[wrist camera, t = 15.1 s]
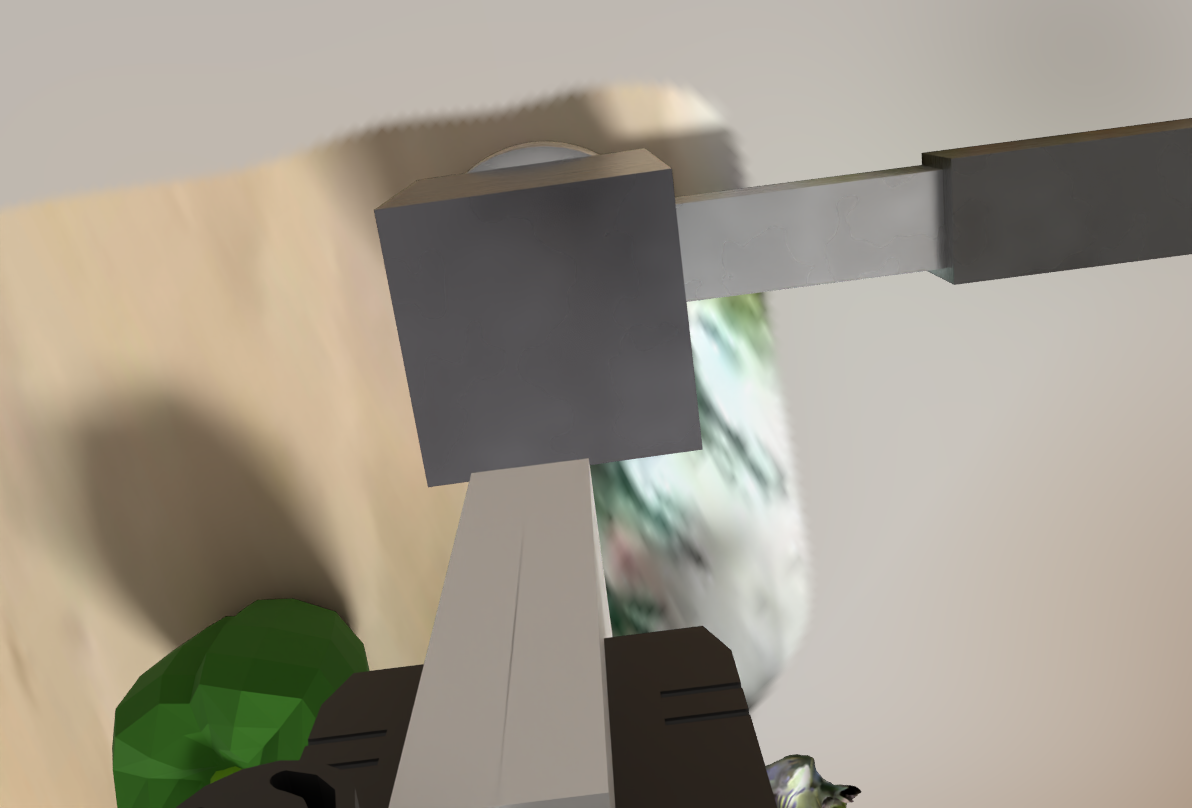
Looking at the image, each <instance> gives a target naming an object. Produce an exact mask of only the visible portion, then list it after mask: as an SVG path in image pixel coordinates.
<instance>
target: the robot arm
mask: <svg viewBox="0 0 1192 808" xmlns="http://www.w3.org/2000/svg"><path fill="white" fill-rule="evenodd" d="M176 808H777V805H776V801H775V798H774V794H773V791H772V788H771V784H770V781H769V777H768V774H767V771H766V767H765V764H764V761H763V757H762V754H761V750H760V747H759V743H758V740H757V736H756V733H755V730H754V726H753V723H752V719H751V716H750V715H749V710H748V706H747V702H746V699H745V696H744V692H743V689H742V688H741V682H740V678H739V675H738V672H737V668H736V665H735V661H734V658H733V655H732V651H731V650H730V649H729V648H728V647H727V646H726V645H725V644H723V643H722V642H721V641H720V640H719V639H717V638H716V637H715V636H714V635H713V634H712V633H710V632H709V631H708V630H707V629H706V628H705V627H703V626H698V627H690V628H682V629H674V630H666V631H658V632H650V633H642V634H634V635H626V636H618V637H612V629H611V622H610V614H609V607H608V599H607V592H606V584H605V577H604V569H603V562H602V555H601V547H600V540H599V532H598V525H597V517H596V510H595V502H594V495H593V487H592V480H591V472H590V465H589V458H587V459H580V460H572V461H564V462H556V463H548V464H540V465H532V466H524V467H516V468H508V469H500V470H492V471H484V472H476V473H471V477H470V481H469V485H468V489H467V493H466V497H465V501H464V505H463V509H462V513H461V517H460V521H459V525H458V529H457V533H456V537H455V541H454V545H453V549H452V553H451V557H450V561H449V565H448V570H447V574H446V578H445V582H444V586H443V590H442V594H441V598H440V602H439V606H438V610H437V614H436V618H435V622H434V626H433V630H432V634H431V638H430V642H429V646H428V650H427V654H426V658H425V662H424V664H423V665H415V666H406V667H398V668H390V669H382V670H374V671H366V672H358V673H353V674H352V675H351V676H350V677H349V678H348V679H347V680H346V681H345V682H344V683H343V684H342V685H341V686H340V687H339V688H338V689H337V690H336V691H335V692H334V693H333V694H332V695H331V696H330V697H329V698H328V699H327V700H326V701H325V702H324V703H323V704H322V705H321V707H320V710H319V712H318V715H317V717H316V720H315V722H314V725H313V727H312V730H311V732H310V735H309V737H308V746H305V748H304V750H303V753H302V755H301V758H300V760H279V761H275V762H271V763H267V764H262V765H258V766H254V767H250V768H245V769H242V770H239V771H237V772H235V773H233V774H231V775H228V776H226V777H224V778H222V779H220V780H217V781H215V782H213V783H211V784H209V785H206V786H204V787H203V788H202V789H200V790H199V791H198V792H196V793H195V794H193V795H192V796H191V797H189V798H188V799H187V800H185V801H184V802H182V803H181V804H180V805H178V806H177V807H176Z"/></svg>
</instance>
